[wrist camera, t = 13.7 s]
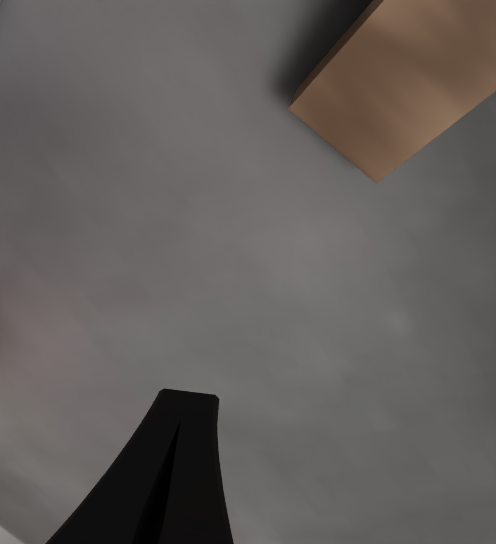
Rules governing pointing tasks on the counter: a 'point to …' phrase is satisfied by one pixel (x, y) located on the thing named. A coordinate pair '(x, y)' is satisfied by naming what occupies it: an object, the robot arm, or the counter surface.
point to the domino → (400, 79)
